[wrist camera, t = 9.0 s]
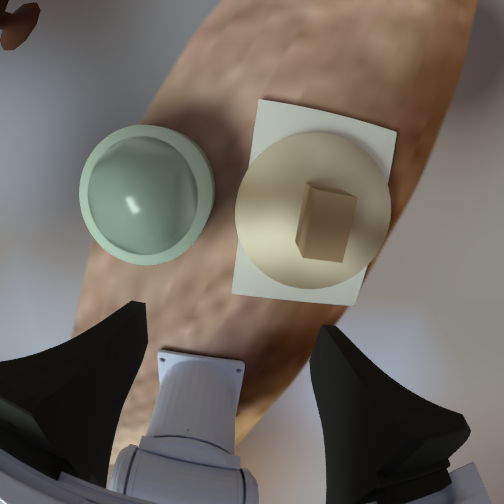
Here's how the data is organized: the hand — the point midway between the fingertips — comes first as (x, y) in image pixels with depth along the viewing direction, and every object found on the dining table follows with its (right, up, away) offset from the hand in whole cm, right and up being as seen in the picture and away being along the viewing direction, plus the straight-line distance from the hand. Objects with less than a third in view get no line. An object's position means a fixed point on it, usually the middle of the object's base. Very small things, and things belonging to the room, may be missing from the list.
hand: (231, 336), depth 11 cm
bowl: (-6, +8, +8) cm, 13 cm away
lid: (+5, +6, +8) cm, 12 cm away
